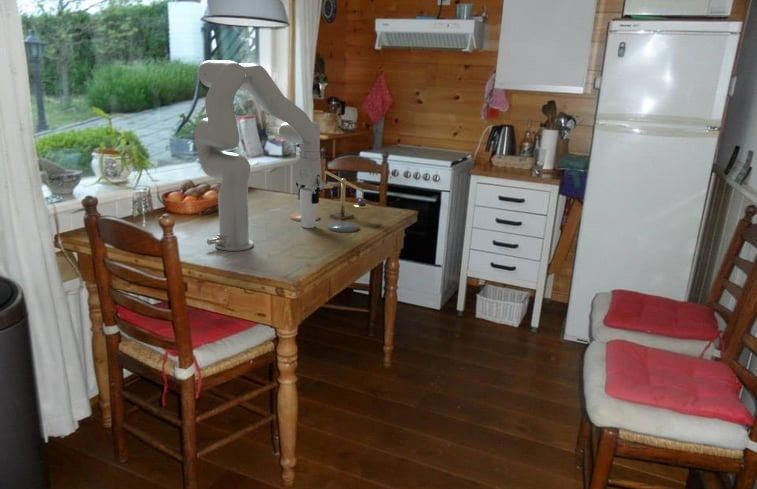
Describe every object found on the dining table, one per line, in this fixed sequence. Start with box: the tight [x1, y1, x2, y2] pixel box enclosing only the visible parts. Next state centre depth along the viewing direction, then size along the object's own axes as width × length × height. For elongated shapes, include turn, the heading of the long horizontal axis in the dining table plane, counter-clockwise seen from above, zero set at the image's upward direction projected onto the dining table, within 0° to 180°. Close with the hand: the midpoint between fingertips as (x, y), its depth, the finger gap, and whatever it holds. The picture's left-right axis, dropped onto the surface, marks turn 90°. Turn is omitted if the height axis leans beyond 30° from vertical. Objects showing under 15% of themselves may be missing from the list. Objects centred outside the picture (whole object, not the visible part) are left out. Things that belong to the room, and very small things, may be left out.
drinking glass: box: [299, 186, 318, 229], centre depth 214 cm, size 7×7×15 cm
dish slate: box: [327, 221, 359, 233], centre depth 217 cm, size 12×12×1 cm
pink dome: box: [289, 211, 320, 222], centre depth 229 cm, size 12×12×1 cm
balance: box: [322, 170, 371, 221], centre depth 231 cm, size 8×29×18 cm, turn 50°
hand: (308, 201), depth 213 cm, fingers closed on drinking glass, 6 cm apart
